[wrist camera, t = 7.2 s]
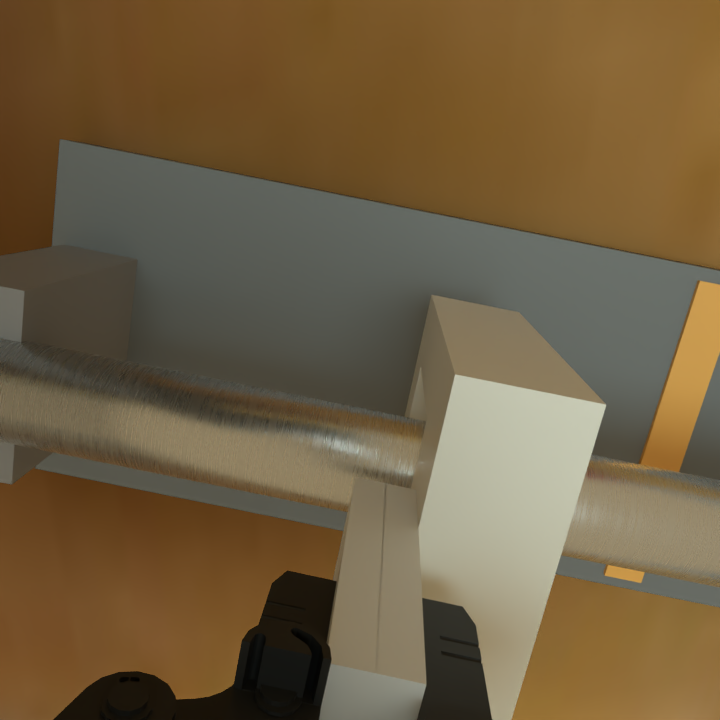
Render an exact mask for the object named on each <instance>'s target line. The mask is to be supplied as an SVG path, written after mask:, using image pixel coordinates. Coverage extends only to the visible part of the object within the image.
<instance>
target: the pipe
mask: <svg viewBox="0 0 720 720" xmlns="http://www.w3.org/2000/svg"><path fill="white" fill-rule="evenodd" d="M425 425H426V421H423V420H418V419H413V418H408V417H403V416H398V415H393V414H388V413H383V412H378V411H373V410H368V409H363V408H358V407H353V406H348V405H343V404H339V403H334V402H329V401H324V400H319V399H314V398H309V397H304V396H299V395H294V394H289V393H284V392H279V391H274V390H269V389H264V388H259V387H254V386H249V385H244V384H239V383H234V382H229V381H224V380H220V379H215V378H210V377H205V376H200V375H195V374H190V373H185V372H180V371H175V370H170V369H165V368H160V367H155V366H150V365H145V364H140V363H135V362H130V361H125V360H120V359H115V358H110V357H105V356H100V355H96V354H91V353H86V352H81V351H76V350H71V349H66V348H61V347H56V346H51V345H46V344H41V343H36V342H31V341H24V342H18V341H13V340H8V339H3V338H0V442H4V443H9V444H14V445H19V446H24V447H29V448H34V449H39V450H44V451H48V452H53V453H58V454H63V455H68V456H73V457H78V458H83V459H88V460H93V461H98V462H103V463H108V464H113V465H118V466H123V467H127V468H132V469H137V470H142V471H147V472H152V473H157V474H162V475H167V476H172V477H177V478H182V479H187V480H192V481H197V482H202V483H206V484H211V485H216V486H221V487H226V488H231V489H236V490H241V491H246V492H251V493H256V494H261V495H266V496H271V497H276V498H280V499H285V500H290V501H295V502H300V503H305V504H310V505H315V506H320V507H325V508H330V509H335V510H340V511H345V512H348V508H349V503H350V499H351V494H352V490H353V485H354V481H355V477H359V478H363V479H368V480H373V481H377V482H382V483H387V484H391V485H396V486H401V487H405V488H410V489H411V486H412V481H413V477H414V473H415V469H416V464H417V460H418V456H419V451H420V447H421V443H422V438H423V434H424V430H425ZM561 555H562V556H567V557H572V558H577V559H582V560H587V561H591V562H596V563H601V564H606V565H611V566H616V567H621V568H626V569H631V570H636V571H641V572H646V573H651V574H656V575H661V576H666V577H670V578H675V579H680V580H685V581H690V582H695V583H700V584H705V585H710V586H715V587H720V480H715V479H710V478H706V477H701V476H696V475H691V474H686V473H681V472H676V471H671V470H666V469H661V468H656V467H651V466H646V465H641V464H636V463H631V462H626V461H621V460H616V459H611V458H606V457H601V456H596V455H591V457H590V461H589V464H588V467H587V471H586V474H585V477H584V481H583V484H582V487H581V491H580V494H579V497H578V500H577V504H576V507H575V510H574V514H573V517H572V520H571V524H570V527H569V530H568V534H567V537H566V540H565V544H564V547H563V550H562V553H561Z"/></svg>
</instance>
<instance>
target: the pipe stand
mask: <svg viewBox="0 0 720 720" xmlns="http://www.w3.org/2000/svg"><path fill="white" fill-rule="evenodd" d="M431 295H436V296H441V297H446V298H451V299H456V300H461V301H466V302H471V303H476V304H481V305H486V306H491V307H496V308H501V309H506V310H511V311H516V312H519V313H520V314H521V315H522V316H523V317H524V318H525V319H526V320H527V321H528V322H529V323H530V324H531V325H532V326H533V328H534V329H535V330H536V331H537V332H538V333H539V334H540V335H541V336H542V337H543V338H544V339H545V340H546V341H547V342H548V343H549V344H550V346H551V347H552V348H553V349H554V350H555V351H556V352H557V353H558V354H559V355H560V356H561V357H562V358H563V359H564V360H565V361H566V362H567V364H568V365H569V366H570V367H571V368H572V369H573V370H574V371H575V372H576V373H577V374H578V375H579V376H580V377H581V378H582V379H583V380H584V382H585V383H586V384H587V385H588V386H589V387H590V388H591V389H592V390H593V391H594V392H595V393H596V394H597V395H598V396H599V397H600V398H601V400H602V401H603V402H604V403H605V404H606V408H605V411H604V414H603V418H602V421H601V424H600V428H599V431H598V434H597V438H596V441H595V444H594V448H593V451H592V454H591V455H596V456H601V457H606V458H611V459H616V460H621V461H626V462H631V463H636V464H641V465H646V466H651V467H656V468H661V469H666V470H671V471H676V472H681V473H686V474H691V475H696V476H701V477H706V478H710V479H715V480H720V270H718V269H713V268H708V267H703V266H698V265H693V264H688V263H683V262H678V261H673V260H668V259H663V258H658V257H653V256H648V255H643V254H638V253H633V252H628V251H623V250H618V249H613V248H608V247H603V246H598V245H593V244H588V243H583V242H578V241H573V240H568V239H563V238H558V237H553V236H548V235H543V234H538V233H533V232H528V231H523V230H518V229H513V228H508V227H503V226H498V225H493V224H488V223H483V222H478V221H473V220H468V219H463V218H458V217H453V216H448V215H443V214H438V213H433V212H428V211H423V210H418V209H413V208H408V207H403V206H398V205H393V204H388V203H383V202H378V201H373V200H368V199H363V198H358V197H353V196H348V195H343V194H338V193H333V192H328V191H323V190H318V189H313V188H308V187H303V186H298V185H293V184H288V183H283V182H278V181H273V180H268V179H263V178H258V177H253V176H248V175H243V174H238V173H233V172H228V171H223V170H218V169H213V168H208V167H203V166H198V165H193V164H188V163H183V162H178V161H173V160H168V159H163V158H158V157H153V156H148V155H143V154H138V153H133V152H127V151H122V150H117V149H112V148H107V147H102V146H97V145H92V144H87V143H82V142H77V141H70V140H63V139H60V143H59V156H58V170H57V183H56V196H55V210H54V223H53V237H52V247H47V248H41V249H36V250H30V251H24V252H19V253H13V254H7V255H2V256H0V338H3V339H8V340H13V341H18V342H24V341H31V342H36V343H41V344H46V345H51V346H56V347H61V348H66V349H71V350H76V351H81V352H86V353H91V354H96V355H100V356H105V357H110V358H115V359H120V360H125V361H130V362H135V363H140V364H145V365H150V366H155V367H160V368H165V369H170V370H175V371H180V372H185V373H190V374H195V375H200V376H205V377H210V378H215V379H220V380H224V381H229V382H234V383H239V384H244V385H249V386H254V387H259V388H264V389H269V390H274V391H279V392H284V393H289V394H294V395H299V396H304V397H309V398H314V399H319V400H324V401H329V402H334V403H339V404H343V405H348V406H353V407H358V408H363V409H368V410H373V411H378V412H383V413H388V414H393V415H398V416H403V417H405V412H406V408H407V403H408V399H409V394H410V390H411V385H412V381H413V376H414V372H415V367H416V363H417V358H418V354H419V349H420V345H421V340H422V336H423V331H424V327H425V322H426V318H427V313H428V309H429V304H430V300H431ZM34 467H35V469H40V470H45V471H50V472H55V473H60V474H65V475H70V476H75V477H80V478H84V479H89V480H94V481H99V482H104V483H109V484H114V485H119V486H124V487H129V488H134V489H139V490H144V491H149V492H154V493H158V494H163V495H168V496H173V497H178V498H183V499H188V500H193V501H198V502H203V503H208V504H213V505H218V506H223V507H228V508H232V509H237V510H242V511H247V512H252V513H257V514H262V515H267V516H272V517H277V518H282V519H287V520H292V521H297V522H302V523H306V524H311V525H316V526H321V527H326V528H331V529H336V530H341V531H344V526H345V522H346V517H347V513H348V512H345V511H340V510H335V509H330V508H325V507H320V506H315V505H310V504H305V503H300V502H295V501H290V500H285V499H280V498H276V497H271V496H266V495H261V494H256V493H251V492H246V491H241V490H236V489H231V488H226V487H221V486H216V485H211V484H206V483H202V482H197V481H192V480H187V479H182V478H177V477H172V476H167V475H162V474H157V473H152V472H147V471H142V470H137V469H132V468H127V467H123V466H118V465H113V464H108V463H103V462H98V461H93V460H88V459H83V458H78V457H73V456H68V455H63V454H58V453H53V452H48V451H44V450H39V449H34V448H29V447H24V446H19V445H14V444H9V443H4V442H0V482H2V483H7V484H13V483H14V482H16V481H17V480H18V479H20V478H21V477H22V476H23V475H25V474H26V473H27V472H29V471H30V470H31V469H32V468H34ZM555 574H558V575H563V576H568V577H573V578H578V579H583V580H588V581H592V582H597V583H602V584H607V585H612V586H617V587H622V588H627V589H632V590H637V591H642V592H647V593H652V594H657V595H662V596H666V597H671V598H676V599H681V600H686V601H691V602H696V603H701V604H706V605H711V606H716V607H720V587H715V586H710V585H705V584H700V583H695V582H690V581H685V580H680V579H675V578H670V577H666V576H661V575H656V574H651V573H646V572H641V571H636V570H631V569H626V568H621V567H616V566H611V565H606V564H601V563H596V562H591V561H587V560H582V559H577V558H572V557H567V556H562V555H561V557H560V560H559V563H558V567H557V570H556V573H555Z"/></svg>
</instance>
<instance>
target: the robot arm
mask: <svg viewBox="0 0 720 720" xmlns="http://www.w3.org/2000/svg"><path fill="white" fill-rule="evenodd" d="M481 660H482V658H481V653H480V648H479V641H478V635H477V629H476V625H475V623H474V622H473V620H472V619H471V618H470V616H469V615H468V613H467V612H466V611H465V609H464V608H463V606H458V605H453V604H449V603H444V602H439V601H435V600H430V599H425V598H422V587H421V568H420V548H419V529H418V516H417V499H416V490H415V489H410V488H405V487H401V486H396V485H391V484H387V483H382V482H377V481H373V480H368V479H363V478H359V477H355V481H354V485H353V490H352V494H351V499H350V503H349V508H348V513H347V517H346V522H345V526H344V531H343V535H342V540H341V545H340V549H339V554H338V558H337V563H336V567H335V572H334V577H333V580H328V579H324V578H319V577H314V576H310V575H305V574H300V573H296V572H291V571H286V572H285V573H284V574H283V575H282V576H280V577H279V578H278V579H277V580H275V581H274V582H273V583H272V585H271V588H270V591H269V594H268V597H267V601H266V604H265V607H264V610H263V613H262V616H261V619H260V622H259V625H258V626H256V627H254V628H252V629H250V630H249V631H248V633H247V634H246V635H245V637H244V638H243V640H242V643H241V649H240V654H239V660H238V665H237V670H236V676H235V681H234V684H233V685H232V686H231V687H230V688H228V689H226V690H225V691H223V692H221V693H218V694H216V695H213V696H210V697H204V698H197V699H181V700H176V697H175V695H174V693H173V692H172V690H171V688H170V687H169V685H168V684H167V683H165V682H164V681H162V680H161V679H159V678H158V677H156V676H154V675H150V674H146V673H142V672H138V671H136V672H118V673H115V674H112V675H108V676H105V677H102V678H100V679H99V680H97V681H96V682H94V683H93V684H91V685H90V686H88V687H87V688H86V689H85V690H84V691H83V692H82V693H81V694H80V695H79V696H77V697H76V698H75V699H74V700H73V701H72V702H71V703H70V704H69V705H68V706H67V707H66V708H65V709H64V710H63V711H62V712H61V713H60V714H59V715H58V716H57V717H56V718H55V719H53V720H492V717H491V711H490V705H489V699H488V693H487V687H486V682H485V676H484V670H483V664H482V663H481Z"/></svg>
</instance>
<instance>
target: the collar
mask: <svg viewBox="0 0 720 720" xmlns="http://www.w3.org/2000/svg"><path fill="white" fill-rule="evenodd" d="M605 408H606V404H605V403H604V402H603V401H602V400H601V398H600V397H599V396H598V395H597V394H596V393H595V392H594V391H593V390H592V389H591V388H590V387H589V386H588V385H587V384H586V383H585V382H584V380H583V379H582V378H581V377H580V376H579V375H578V374H577V373H576V372H575V371H574V370H573V369H572V368H571V367H570V366H569V365H568V364H567V362H566V361H565V360H564V359H563V358H562V357H561V356H560V355H559V354H558V353H557V352H556V351H555V350H554V349H553V348H552V347H551V346H550V344H549V343H548V342H547V341H546V340H545V339H544V338H543V337H542V336H541V335H540V334H539V333H538V332H537V331H536V330H535V329H534V328H533V326H532V325H531V324H530V323H529V322H528V321H527V320H526V319H525V318H524V317H523V316H522V315H521V314H520V313H519V312H516V311H511V310H506V309H501V308H496V307H491V306H486V305H481V304H476V303H471V302H466V301H461V300H456V299H451V298H446V297H441V296H436V295H431V300H430V304H429V309H428V313H427V318H426V322H425V327H424V331H423V336H422V340H421V345H420V349H419V354H418V358H417V363H416V367H415V372H414V376H413V381H412V385H411V390H410V394H409V399H408V403H407V408H406V412H405V417H408V418H413V419H418V420H423V421H426V425H425V430H424V434H423V438H422V443H421V447H420V451H419V456H418V460H417V464H416V469H415V473H414V477H413V481H412V486H411V489H415V490H416V499H417V516H418V529H419V548H420V568H421V587H422V598H425V599H430V600H435V601H439V602H444V603H449V604H453V605H458V606H463V608H464V609H465V611H466V612H467V613H468V615H469V616H470V618H471V619H472V620H473V622H474V623H475V625H476V629H477V635H478V641H479V648H480V653H481V658H482V660H481V663H482V664H483V670H484V676H485V682H486V687H487V693H488V699H489V705H490V711H491V717H492V720H511V719H512V716H513V712H514V709H515V706H516V702H517V699H518V696H519V692H520V689H521V686H522V683H523V679H524V676H525V673H526V669H527V666H528V663H529V659H530V656H531V653H532V649H533V646H534V643H535V640H536V636H537V633H538V630H539V626H540V623H541V620H542V616H543V613H544V610H545V606H546V603H547V600H548V596H549V593H550V590H551V587H552V583H553V580H554V577H555V573H556V570H557V567H558V563H559V560H560V557H561V553H562V550H563V547H564V544H565V540H566V537H567V534H568V530H569V527H570V524H571V520H572V517H573V514H574V510H575V507H576V504H577V500H578V497H579V494H580V491H581V487H582V484H583V481H584V477H585V474H586V471H587V467H588V464H589V461H590V457H591V454H592V451H593V448H594V444H595V441H596V438H597V434H598V431H599V428H600V424H601V421H602V418H603V414H604V411H605Z"/></svg>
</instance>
